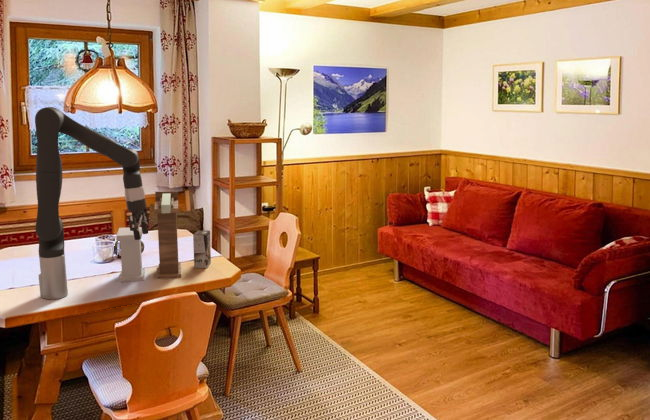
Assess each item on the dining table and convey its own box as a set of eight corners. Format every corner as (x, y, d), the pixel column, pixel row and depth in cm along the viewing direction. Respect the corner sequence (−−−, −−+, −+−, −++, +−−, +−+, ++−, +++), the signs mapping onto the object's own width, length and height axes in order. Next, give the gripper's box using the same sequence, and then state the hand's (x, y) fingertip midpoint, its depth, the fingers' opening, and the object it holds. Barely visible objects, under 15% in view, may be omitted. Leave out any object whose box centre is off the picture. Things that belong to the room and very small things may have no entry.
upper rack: (181, 278, 256) (177, 199, 249) (157, 280, 254) (153, 199, 246) (180, 265, 275) (177, 190, 268) (158, 266, 273) (155, 191, 265)
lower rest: (143, 281, 253) (140, 234, 248) (119, 282, 250) (116, 235, 246) (144, 271, 266) (142, 226, 261) (122, 272, 263) (119, 227, 259)
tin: (112, 257, 287) (111, 240, 285) (113, 255, 290) (112, 239, 288) (144, 255, 290) (143, 239, 288) (145, 254, 293) (144, 237, 291)
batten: (170, 213, 240) (169, 204, 240) (161, 213, 240) (161, 205, 239) (170, 200, 265) (170, 193, 264) (162, 201, 264) (162, 193, 263)
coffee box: (207, 268, 272) (206, 235, 268) (193, 268, 272) (192, 234, 268) (211, 262, 281) (210, 230, 277) (198, 262, 281) (197, 229, 277)
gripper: (133, 195, 240) (139, 232, 244) (119, 202, 226) (125, 242, 230) (150, 193, 239) (156, 231, 243) (137, 201, 225) (144, 241, 229)
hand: (141, 236), depth 236 cm, fingers open, 8 cm apart
